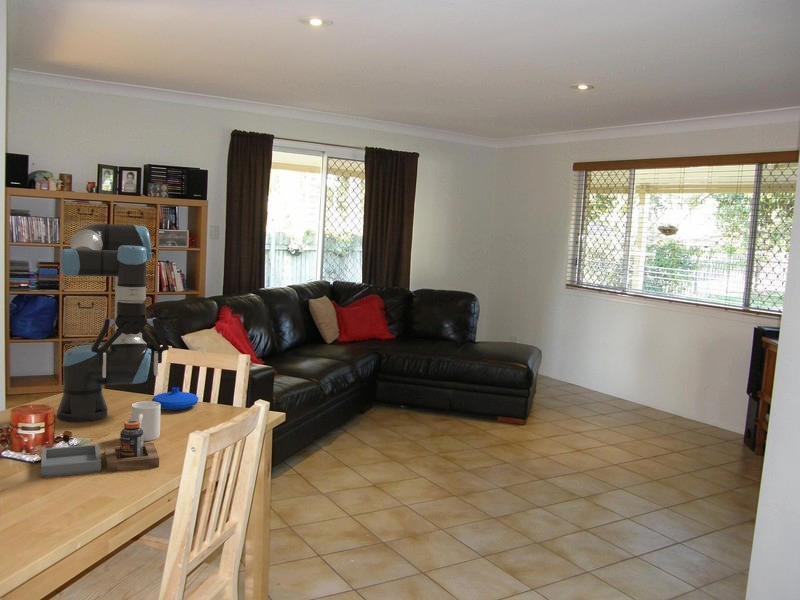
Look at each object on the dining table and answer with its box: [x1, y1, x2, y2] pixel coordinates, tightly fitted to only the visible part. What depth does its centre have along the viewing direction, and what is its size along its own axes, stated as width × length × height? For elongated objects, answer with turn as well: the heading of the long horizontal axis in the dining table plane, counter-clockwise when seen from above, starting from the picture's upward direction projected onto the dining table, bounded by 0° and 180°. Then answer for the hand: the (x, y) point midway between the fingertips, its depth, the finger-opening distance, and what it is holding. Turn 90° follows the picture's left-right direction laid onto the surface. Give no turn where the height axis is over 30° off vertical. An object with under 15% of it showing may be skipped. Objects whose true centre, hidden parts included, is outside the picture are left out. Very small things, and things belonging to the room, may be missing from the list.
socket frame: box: [104, 442, 160, 473], centre depth 190 cm, size 16×13×2 cm
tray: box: [40, 443, 102, 479], centre depth 182 cm, size 14×14×3 cm
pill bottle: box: [119, 419, 144, 459], centre depth 188 cm, size 6×6×11 cm
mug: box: [130, 400, 162, 442], centre depth 206 cm, size 12×8×10 cm
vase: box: [151, 386, 199, 411], centre depth 242 cm, size 16×16×7 cm
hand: (130, 375), depth 193 cm, fingers open, 13 cm apart
